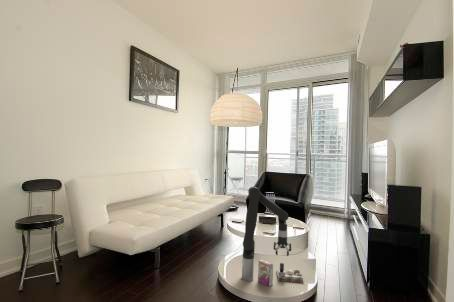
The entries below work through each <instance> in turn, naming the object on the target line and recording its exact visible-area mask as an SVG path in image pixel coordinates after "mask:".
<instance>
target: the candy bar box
mask: <svg viewBox="0 0 454 302" xmlns="http://www.w3.org/2000/svg"><path fill="white" fill-rule="evenodd" d="M257 272H258V276H257V282H259V283H260V284H263V285H265V286H266V287H271V286H273V279H274V274H273V273H274V264H273V263H272V262H269V261H267V260H264V259H260V260H258V271H257Z"/></svg>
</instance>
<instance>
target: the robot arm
mask: <svg viewBox="0 0 454 302" xmlns="http://www.w3.org/2000/svg"><path fill="white" fill-rule="evenodd" d="M247 193H248V195H249V201H248V202H249V203H248V206H247V207H248V208H247V210H246V215H245V224H244V225H245V227H244V228H245V229H244V232H245V233H244V237H243V241H242V246H243V251H242V267H241V269H242V270H241V280H242V281H245V282H252V281H253V280H254V267H255V266H254V265H255V263H254V262H255V260H254V259H255V247H256V246H255V243H256V242H255V231H256V227H257V223H258V215H259V213H258V212H259V203H261V204H262V205H264V207H265V208H266V209H268V210H269V211H270V212H271V213H273V214H274V215H275V216H277V221H278V222H277V223H278V232H277V241H274V242H273V250H274V251H275V255H276V256H278V254H279V253H278V250H280V249H285V250H286V256H287V257H288V256H289V255H290V254H289V253H290V252H291V251H292V243H291V242H288V224H287V220H288V219H289V214H288V212H287V211H285V210H283V209H282V208H281V207H279V205H277V204H276V203H275V202H274V201H272V200H271V199H269V198H268V197H266V196H265V195H264V194H263V193H262V192H261V191H260V189H259V188H258V187H256V186H250V187H249V189H248V192H247ZM287 246H288V247H287Z"/></svg>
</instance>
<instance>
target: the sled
mask: <svg viewBox="0 0 454 302" xmlns="http://www.w3.org/2000/svg"><path fill="white" fill-rule="evenodd" d="M277 271H278V274H279V276H285V271H286V270H285V264H284V263H283V262H279V269H278V270H277Z"/></svg>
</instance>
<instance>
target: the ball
mask: <svg viewBox="0 0 454 302" xmlns="http://www.w3.org/2000/svg"><path fill="white" fill-rule="evenodd" d="M287 272H288V274H289V275H292V274H293V272H294V270H292V269H288V271H287Z"/></svg>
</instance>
